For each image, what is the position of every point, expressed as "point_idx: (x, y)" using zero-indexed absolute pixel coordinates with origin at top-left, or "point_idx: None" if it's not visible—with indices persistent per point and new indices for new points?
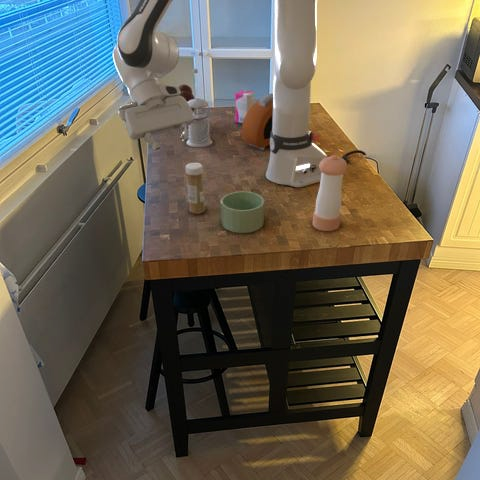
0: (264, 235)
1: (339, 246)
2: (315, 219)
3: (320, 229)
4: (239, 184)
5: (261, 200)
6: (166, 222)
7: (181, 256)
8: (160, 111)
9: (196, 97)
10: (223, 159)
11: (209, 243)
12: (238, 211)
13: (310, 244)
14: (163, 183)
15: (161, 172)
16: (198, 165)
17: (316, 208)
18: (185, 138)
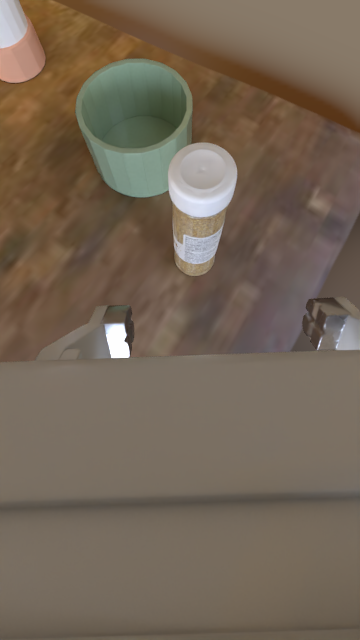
0: None
1: (64, 6)
2: (34, 44)
3: (43, 51)
4: (7, 316)
5: (89, 92)
6: (288, 254)
7: (324, 125)
8: (262, 539)
9: None
10: None
11: (252, 131)
12: (177, 74)
13: (98, 33)
14: None
15: None
16: (187, 159)
17: (16, 19)
18: (121, 305)
